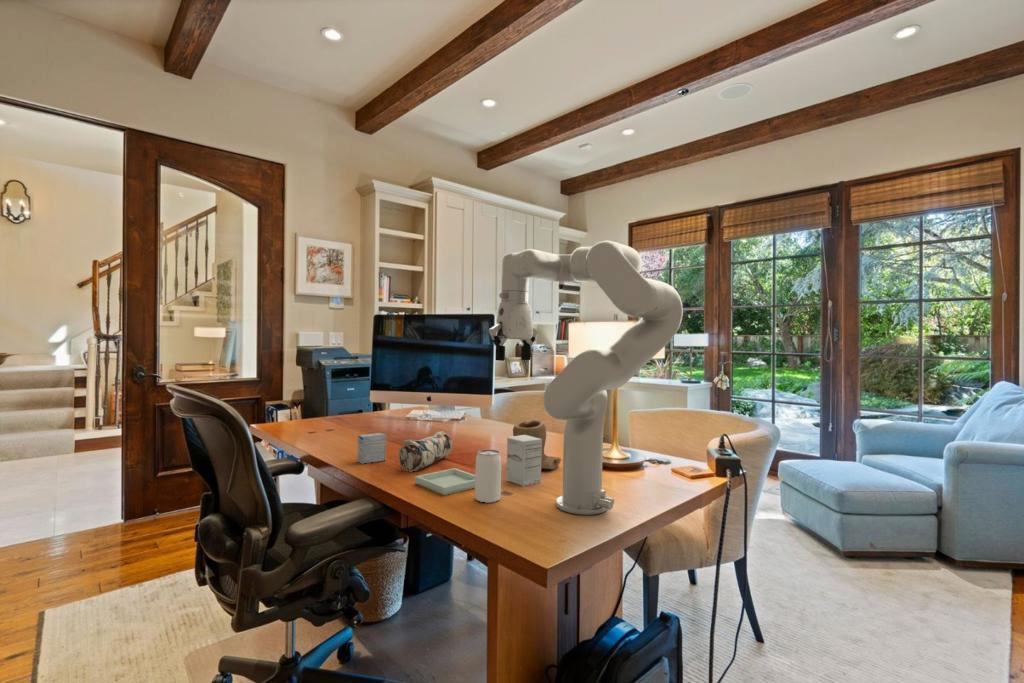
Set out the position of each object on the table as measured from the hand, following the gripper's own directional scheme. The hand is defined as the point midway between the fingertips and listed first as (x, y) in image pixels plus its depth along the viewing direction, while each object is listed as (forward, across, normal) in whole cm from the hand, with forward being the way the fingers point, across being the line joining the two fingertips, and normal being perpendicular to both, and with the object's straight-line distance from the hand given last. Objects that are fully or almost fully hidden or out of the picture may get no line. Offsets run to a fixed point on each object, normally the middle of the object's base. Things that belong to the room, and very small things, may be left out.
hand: (513, 360), depth 135 cm
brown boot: (+35, +18, +8) cm, 41 cm away
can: (+35, -12, -5) cm, 38 cm away
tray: (+35, -13, +11) cm, 39 cm away
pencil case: (+36, -5, +34) cm, 49 cm away
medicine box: (+35, -18, +48) cm, 62 cm away
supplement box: (+35, +5, 0) cm, 36 cm away
